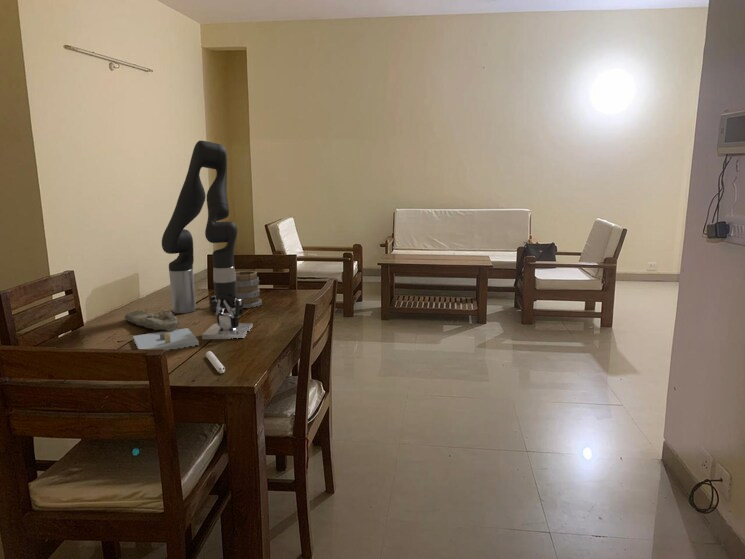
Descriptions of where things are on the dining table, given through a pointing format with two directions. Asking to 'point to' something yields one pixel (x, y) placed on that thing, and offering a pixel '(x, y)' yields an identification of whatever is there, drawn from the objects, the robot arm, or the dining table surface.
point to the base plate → (160, 344)
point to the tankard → (248, 288)
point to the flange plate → (226, 334)
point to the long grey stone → (153, 320)
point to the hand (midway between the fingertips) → (228, 326)
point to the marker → (215, 362)
